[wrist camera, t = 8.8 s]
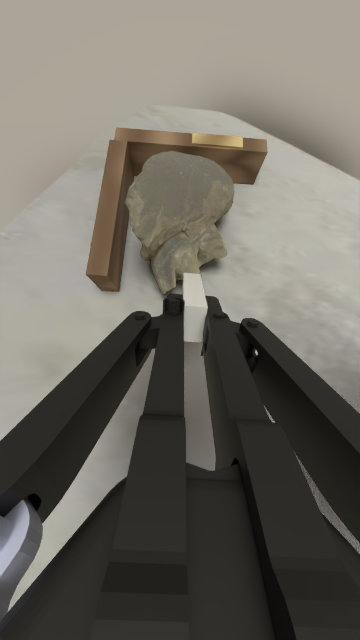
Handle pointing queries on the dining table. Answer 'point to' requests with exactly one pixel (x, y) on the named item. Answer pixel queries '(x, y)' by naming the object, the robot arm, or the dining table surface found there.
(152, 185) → the jagged rock
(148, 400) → the robot arm
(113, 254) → the brown wooden l-shaped piece
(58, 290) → the dining table surface
